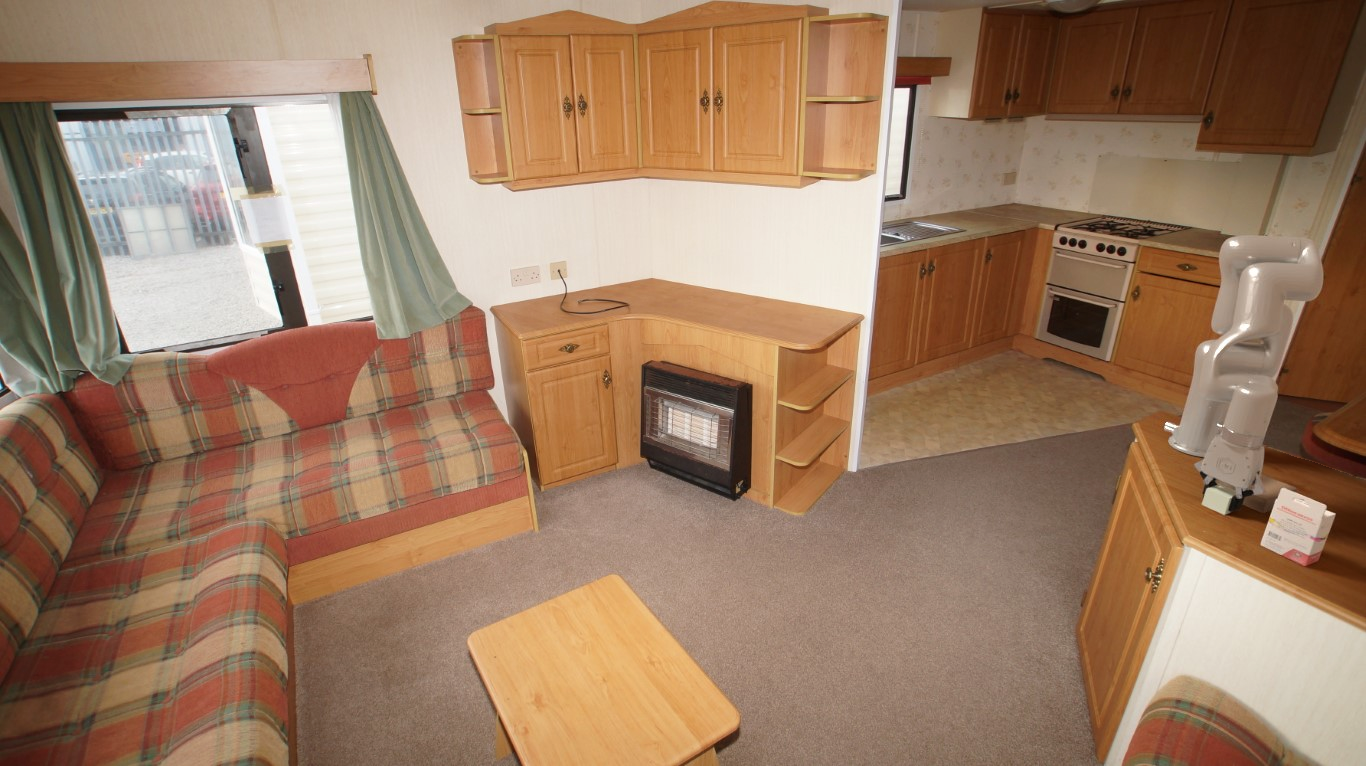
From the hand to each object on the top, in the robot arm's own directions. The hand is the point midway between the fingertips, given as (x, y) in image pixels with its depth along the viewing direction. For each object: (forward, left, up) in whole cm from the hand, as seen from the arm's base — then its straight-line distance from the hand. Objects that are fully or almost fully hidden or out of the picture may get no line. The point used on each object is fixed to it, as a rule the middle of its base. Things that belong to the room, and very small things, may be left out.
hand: (1220, 503), depth 158 cm
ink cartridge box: (+17, -6, -1) cm, 18 cm away
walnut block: (0, +12, -1) cm, 12 cm away
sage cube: (0, 0, -1) cm, 1 cm away
